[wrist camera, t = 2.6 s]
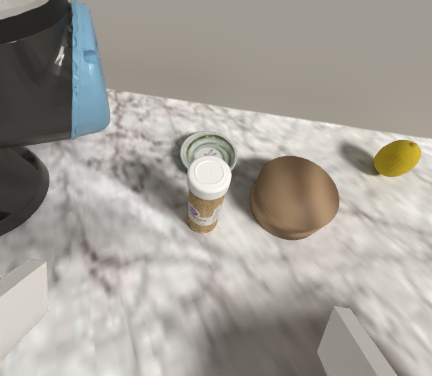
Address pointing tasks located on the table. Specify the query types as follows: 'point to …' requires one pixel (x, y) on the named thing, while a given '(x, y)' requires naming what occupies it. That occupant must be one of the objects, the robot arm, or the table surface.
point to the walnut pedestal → (293, 198)
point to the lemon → (397, 158)
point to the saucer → (208, 148)
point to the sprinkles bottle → (206, 191)
